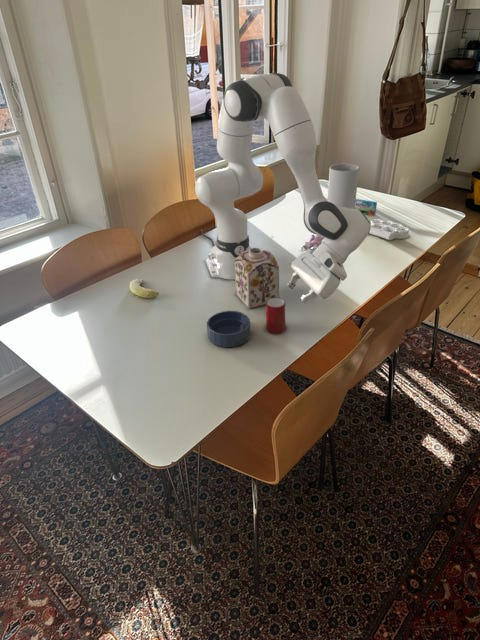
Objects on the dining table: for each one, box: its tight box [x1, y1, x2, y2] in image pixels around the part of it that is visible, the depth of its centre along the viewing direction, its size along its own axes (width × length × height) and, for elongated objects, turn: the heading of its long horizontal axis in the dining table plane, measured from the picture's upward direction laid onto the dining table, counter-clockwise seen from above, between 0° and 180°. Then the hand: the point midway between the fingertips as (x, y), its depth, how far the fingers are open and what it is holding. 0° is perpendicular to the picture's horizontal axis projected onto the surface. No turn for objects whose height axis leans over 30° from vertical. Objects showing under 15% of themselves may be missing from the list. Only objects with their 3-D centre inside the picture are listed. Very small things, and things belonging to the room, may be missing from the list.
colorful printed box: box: [355, 198, 378, 216], centre depth 220 cm, size 12×2×6 cm, turn 58°
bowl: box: [206, 310, 252, 348], centre depth 140 cm, size 13×13×5 cm
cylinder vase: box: [326, 163, 360, 209], centre depth 207 cm, size 12×12×25 cm
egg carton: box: [368, 218, 410, 241], centre depth 200 cm, size 3×18×15 cm
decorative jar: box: [234, 247, 280, 310], centre depth 154 cm, size 12×12×18 cm
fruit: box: [129, 278, 160, 299], centre depth 165 cm, size 7×15×3 cm, turn 33°
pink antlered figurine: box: [301, 234, 324, 251], centre depth 191 cm, size 6×6×15 cm
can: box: [265, 297, 286, 335], centre depth 141 cm, size 6×6×10 cm
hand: (295, 294), depth 139 cm, fingers open, 8 cm apart
